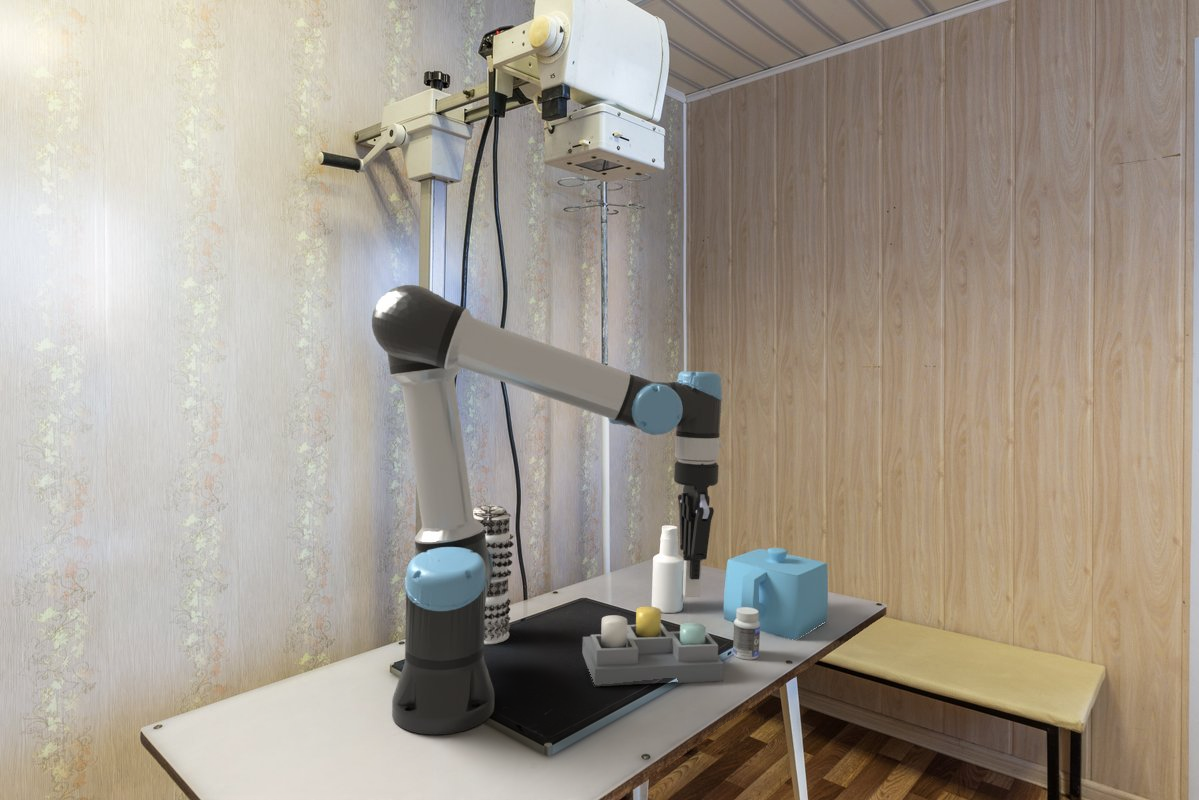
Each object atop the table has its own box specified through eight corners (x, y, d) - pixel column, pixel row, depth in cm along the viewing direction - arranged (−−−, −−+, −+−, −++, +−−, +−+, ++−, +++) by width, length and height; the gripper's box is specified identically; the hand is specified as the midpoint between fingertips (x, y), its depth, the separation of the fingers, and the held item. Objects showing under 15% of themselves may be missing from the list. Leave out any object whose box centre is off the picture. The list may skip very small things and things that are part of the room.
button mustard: (638, 637, 125) (639, 615, 125) (633, 628, 130) (634, 606, 130) (663, 636, 126) (663, 614, 126) (656, 627, 130) (657, 606, 130)
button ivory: (603, 648, 120) (604, 624, 120) (599, 638, 125) (599, 615, 124) (629, 647, 121) (629, 624, 121) (623, 637, 125) (624, 614, 125)
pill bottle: (759, 661, 130) (760, 616, 129) (732, 658, 131) (734, 613, 130) (758, 651, 134) (760, 607, 134) (733, 648, 135) (734, 605, 135)
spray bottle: (687, 607, 158) (690, 526, 157) (674, 616, 152) (676, 532, 151) (660, 601, 161) (663, 522, 160) (645, 609, 156) (648, 527, 155)
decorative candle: (521, 634, 139) (524, 507, 138) (487, 649, 132) (490, 514, 131) (487, 623, 145) (490, 500, 143) (453, 636, 137) (455, 507, 136)
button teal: (683, 655, 123) (684, 632, 123) (676, 645, 127) (677, 623, 127) (708, 654, 124) (709, 631, 123) (700, 644, 128) (701, 622, 128)
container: (709, 624, 148) (712, 551, 147) (769, 597, 166) (772, 532, 166) (785, 648, 136) (788, 568, 136) (840, 616, 155) (843, 546, 154)
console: (594, 687, 117) (595, 654, 117) (582, 652, 131) (583, 623, 131) (722, 680, 121) (724, 648, 121) (697, 648, 135) (698, 619, 135)
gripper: (730, 466, 118) (724, 607, 119) (705, 456, 131) (700, 583, 132) (686, 466, 117) (681, 608, 118) (665, 455, 129) (660, 584, 131)
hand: (691, 595), depth 125 cm, fingers closed
